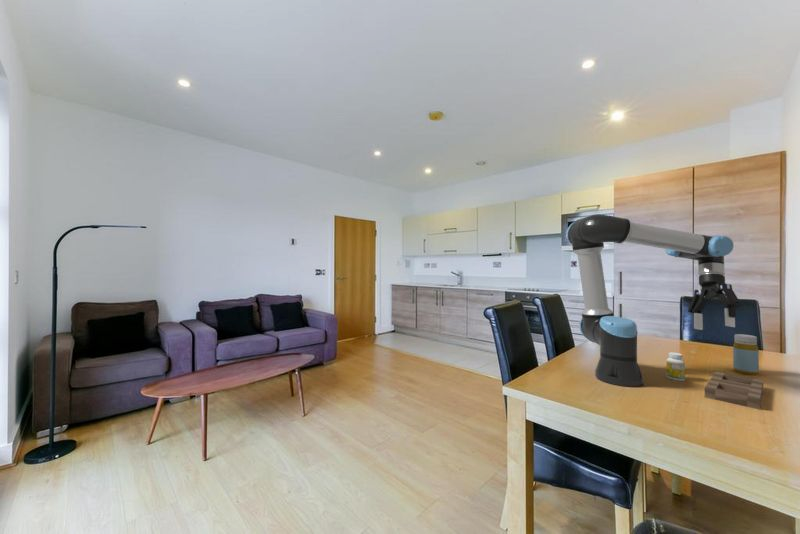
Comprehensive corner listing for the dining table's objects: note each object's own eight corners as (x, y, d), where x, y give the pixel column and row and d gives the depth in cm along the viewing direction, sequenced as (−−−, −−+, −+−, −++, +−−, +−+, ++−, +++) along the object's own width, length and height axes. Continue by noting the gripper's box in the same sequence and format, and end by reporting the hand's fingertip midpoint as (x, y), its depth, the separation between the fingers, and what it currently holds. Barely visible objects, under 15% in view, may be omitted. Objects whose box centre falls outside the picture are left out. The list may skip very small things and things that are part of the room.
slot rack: (759, 409, 95) (759, 399, 95) (704, 397, 104) (704, 387, 104) (763, 388, 111) (763, 380, 111) (715, 379, 120) (715, 371, 120)
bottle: (746, 369, 132) (746, 334, 132) (764, 375, 125) (763, 337, 125) (728, 369, 132) (728, 333, 133) (744, 374, 126) (744, 337, 126)
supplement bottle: (685, 382, 118) (685, 356, 118) (666, 378, 121) (666, 354, 121) (684, 378, 122) (684, 353, 122) (666, 375, 125) (666, 351, 125)
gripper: (753, 269, 114) (757, 327, 109) (695, 284, 138) (696, 332, 133) (730, 265, 115) (733, 322, 110) (677, 280, 139) (677, 328, 134)
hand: (713, 328), depth 121 cm, fingers open, 13 cm apart
